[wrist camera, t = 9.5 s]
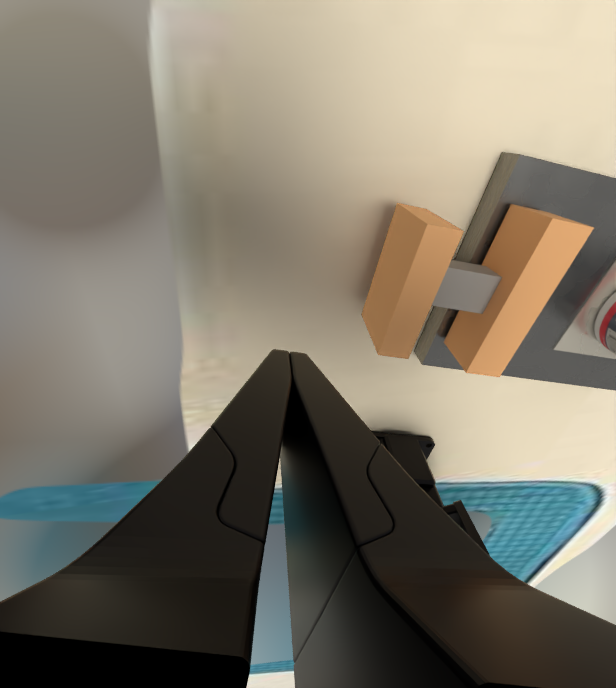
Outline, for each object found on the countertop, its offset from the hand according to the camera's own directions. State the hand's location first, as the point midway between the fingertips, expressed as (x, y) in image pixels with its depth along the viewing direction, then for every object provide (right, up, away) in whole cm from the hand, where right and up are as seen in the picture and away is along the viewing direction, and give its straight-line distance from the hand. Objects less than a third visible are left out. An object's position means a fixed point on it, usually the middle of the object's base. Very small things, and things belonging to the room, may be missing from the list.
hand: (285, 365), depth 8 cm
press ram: (+8, +4, +10) cm, 13 cm away
